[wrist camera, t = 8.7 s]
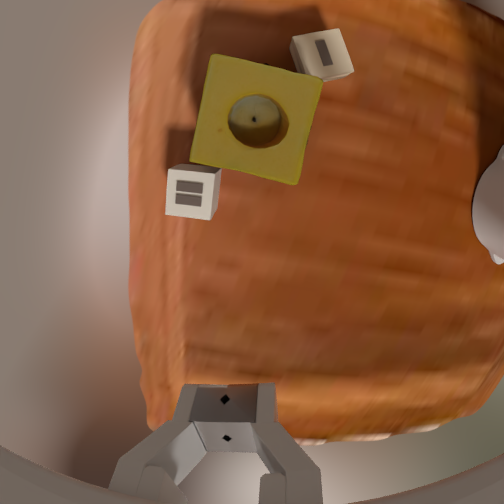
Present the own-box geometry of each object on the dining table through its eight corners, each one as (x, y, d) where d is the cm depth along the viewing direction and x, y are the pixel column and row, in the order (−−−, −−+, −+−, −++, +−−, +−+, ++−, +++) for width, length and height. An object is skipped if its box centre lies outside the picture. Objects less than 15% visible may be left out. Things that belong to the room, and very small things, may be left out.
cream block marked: (221, 167, 35) (214, 174, 30) (217, 208, 37) (209, 220, 32) (180, 163, 35) (167, 169, 30) (177, 203, 37) (164, 214, 32)
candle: (223, 70, 31) (208, 49, 21) (310, 89, 31) (327, 75, 22) (205, 152, 35) (183, 161, 25) (289, 171, 35) (298, 187, 26)
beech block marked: (329, 40, 29) (339, 27, 24) (342, 78, 30) (354, 70, 25) (288, 48, 29) (292, 36, 24) (302, 86, 31) (308, 79, 26)
